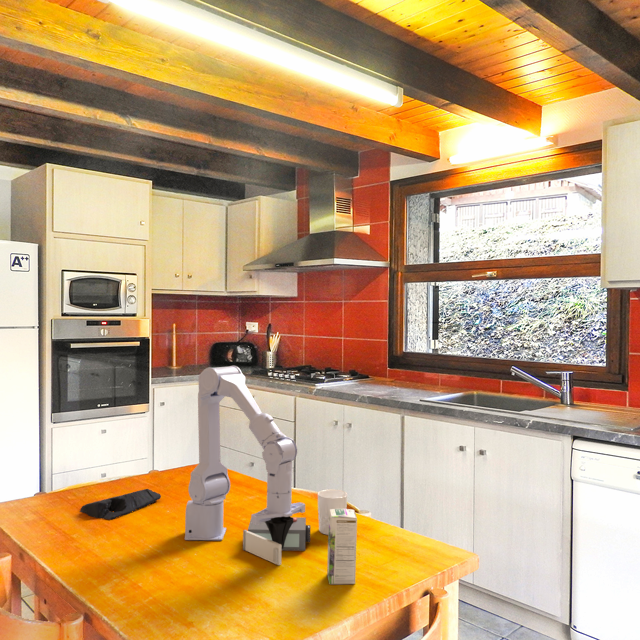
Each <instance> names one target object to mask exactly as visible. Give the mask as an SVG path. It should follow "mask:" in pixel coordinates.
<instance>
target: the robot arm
mask: <svg viewBox="0 0 640 640" xmlns="http://www.w3.org/2000/svg"><path fill="white" fill-rule="evenodd" d="M225 397H227V398H231V399H232V400H233V401H234V402H235V404H236V405H237V406H238V408H239V409H240V410H241V411H242V412H243V414H244V415H245V417H247V418H248V420H249V425H248V429H250V432H251V433H252V434H253V436H254V437H255V439H256V440H257V443H259V445H260V446H261V448H262V449H263V450H262V452H261V454H262V459H263V462H264V463H265V470H266V472H267V476H266V477H267V483H266V486H267V487H266V490H267V491H266V507H265V508H263V509H262V510H260V511H258V512H256V513H252V514H251V518H250V521H251V523H253V524H255V525H259V524H260V523H261V522H265V523H266V525H267V527H268V529H269V531H270V534H271V538H272V541H274V542H276V543H279V544H281V545H282V549H283V547H284V543H285V540H286V536H287V534H288V531H289V529H290V527H291V525H292V524H293V518H292V517H293V515H294V514H297V513H298V514H299V513H302V514H303V513H305V512H306V504H305V503H304V502H296V503H295V502H294V503H292V491H293V490H292V487H293V485H292V484H293V483H292V480H293V474H292V473H293V461H294V460H295V459H296V458H297V456H298V447H297V444H296V441H295V440H294V439H293V438H291V437H289V436H287V435H286V434H284V432H282V431H281V430H280V428H279V427H278V426H277V424H276V423H275V421H274V420H275V419H274V418H273V416H272V415H270V414H269V413H266V412H265V413H264V412H262V410H261V408H260V407H259V405H258V403H257V402H256V400H255V399H254V397H253V395H252V393H251V391H250V390H249V388H248V386H247V385H246V376H245V375H244V374H243V373H242V370H241V369H240V367H238V366H237V365H230V366H221V367H219V366H218V367H205V368H204V369H203V370H202V371H201V372H200V374H199V375H198V393H197V416H198V417H197V418H198V421H197V422H198V424H197V425H198V461H199V462H198V464H197V465H196V466H195V468H194V469H193V470H192V471H191V472H190V480H189V483H188V494H189V497H190V499H191V500H188V501H187V503H186V507H185V529H184V530H185V531H184V534H185V535H184V540H185V541H222V540H224V536H225V535H226V531H227V527H224V500H226V496H227V494H229V492H230V490H231V480H230V478H229V475H228V468H227V467H226V466H225V465H224V464H223V463H222V462H221V426H220V425H221V424H220V419H221V416H220V414H221V413H220V402H221V401H222V400H223V399H224V398H225Z"/></svg>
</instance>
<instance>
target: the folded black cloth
mask: <svg viewBox="0 0 640 640" xmlns="http://www.w3.org/2000/svg"><path fill="white" fill-rule="evenodd" d="M161 497H162V495H161V494H160V493H158V492H156V491H153V490H152V489H149V488H144V489H140V490H137V491H133V492H129V493H125V494H121V495H118V496H117V495H116V496H113V497H109V498H105V499H101V500H98V501H93V502H90V503H86V504H84V505H82V506H81V508H80V510H79V513H82V514H87V516H89V517H93V518H95V519H100V520H101V519H102V520H109V521H110V520H116V519H117V518H119V516H120V517H123V516H126V515H128V514H131V513H133V512H132V511H134V512H136V511H137V510H140V509H142V507H143V508H145V507H147V505H148V506H150V505H151V503H152V504H153V503H156V502H157V501H158V500H160V499H161ZM149 504H150V505H149ZM139 508H140V509H139ZM136 509H137V510H136ZM113 511H114V512H113ZM130 512H131V513H130ZM116 517H117V518H116ZM115 518H116V519H115Z"/></svg>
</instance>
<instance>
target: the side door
mask: <svg viewBox="0 0 640 640" xmlns="http://www.w3.org/2000/svg"><path fill="white" fill-rule="evenodd" d="M242 531H243V533H242V550H243V551H245V552H249V554H253V555H255V556H257V557H259V558H262V559H264V560H266V561H269V562H270V563H273V564H275V565H277V566H280V565H282V550H281V549H282V545H281V544H279V543H276V542H274V541H271V540H269V539H267V538H264V537H262V536H259V535H257V534H254V533H252V532H250V531H248V529H244V530H242Z"/></svg>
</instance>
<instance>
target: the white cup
mask: <svg viewBox="0 0 640 640" xmlns="http://www.w3.org/2000/svg"><path fill="white" fill-rule="evenodd" d="M347 502H348V493H347V492H346V491H345V490H340V489H329V488H328V489H324V490H323V489H322V490H320V491H318V492H317V512H318V531H319V532H320V533H321V534H323V535H326V536H329V511H330V509H348V508H347V506H348V503H347Z"/></svg>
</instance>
